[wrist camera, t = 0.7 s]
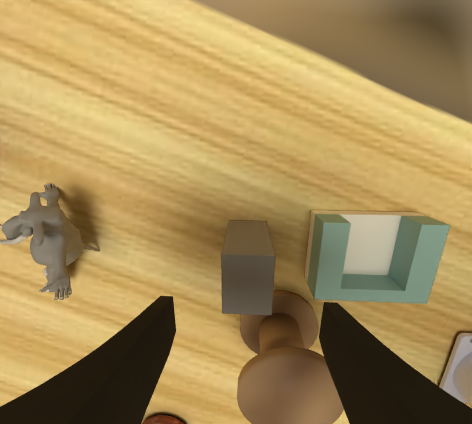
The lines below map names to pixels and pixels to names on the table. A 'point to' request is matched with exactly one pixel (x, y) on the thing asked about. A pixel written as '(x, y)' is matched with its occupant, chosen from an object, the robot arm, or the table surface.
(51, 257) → the grey animal figure
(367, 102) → the table surface
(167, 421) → the supplement bottle
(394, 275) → the notch board
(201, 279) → the table surface
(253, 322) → the bobbin
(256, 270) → the plug
